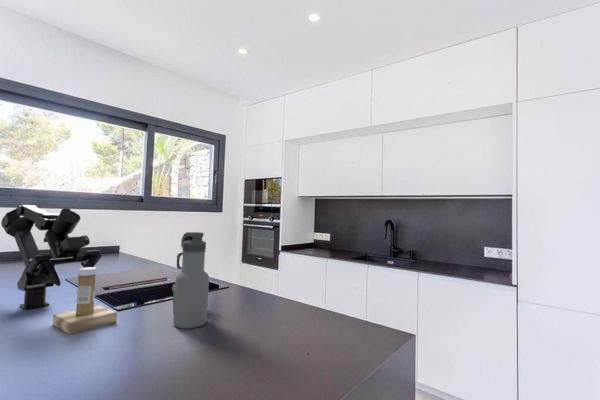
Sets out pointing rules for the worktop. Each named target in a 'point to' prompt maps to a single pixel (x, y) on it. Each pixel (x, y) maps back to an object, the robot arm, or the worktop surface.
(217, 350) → the worktop surface
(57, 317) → the oak stand
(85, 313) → the sprinkles bottle
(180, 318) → the water bottle
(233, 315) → the worktop surface
